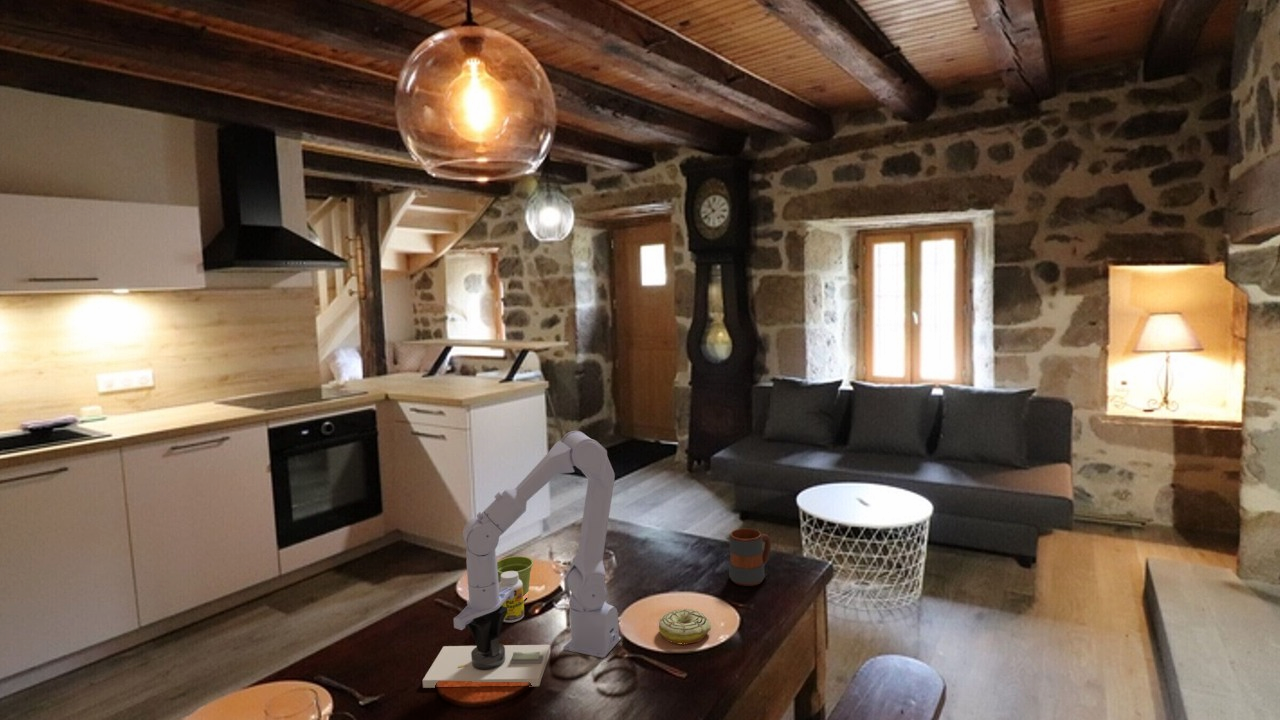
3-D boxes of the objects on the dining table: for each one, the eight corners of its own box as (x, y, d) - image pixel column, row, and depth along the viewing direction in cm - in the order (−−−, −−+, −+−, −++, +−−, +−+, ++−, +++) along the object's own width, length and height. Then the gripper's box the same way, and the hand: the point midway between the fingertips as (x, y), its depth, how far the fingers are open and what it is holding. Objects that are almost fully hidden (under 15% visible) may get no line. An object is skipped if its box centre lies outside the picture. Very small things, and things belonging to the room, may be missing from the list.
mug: (782, 577, 169) (781, 531, 168) (744, 590, 163) (743, 543, 162) (759, 565, 177) (758, 522, 175) (722, 577, 171) (720, 532, 169)
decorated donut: (720, 633, 144) (720, 616, 144) (684, 653, 137) (684, 635, 137) (685, 616, 152) (684, 600, 152) (649, 634, 145) (649, 617, 145)
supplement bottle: (505, 626, 151) (502, 581, 150) (495, 616, 155) (492, 573, 154) (528, 618, 154) (525, 575, 153) (518, 609, 158) (515, 567, 157)
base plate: (550, 651, 140) (549, 635, 139) (539, 686, 128) (538, 668, 127) (444, 653, 141) (442, 637, 140) (423, 687, 129) (421, 670, 128)
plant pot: (527, 608, 159) (525, 572, 158) (489, 607, 160) (486, 571, 159) (540, 590, 168) (538, 556, 167) (503, 589, 169) (501, 555, 168)
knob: (511, 659, 134) (510, 632, 133) (483, 673, 129) (481, 645, 129) (493, 648, 138) (491, 621, 138) (465, 661, 134) (463, 634, 133)
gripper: (493, 563, 140) (498, 626, 142) (439, 592, 128) (445, 660, 130) (520, 569, 137) (524, 634, 138) (467, 599, 124) (472, 670, 126)
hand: (487, 647), depth 134 cm, fingers closed on knob, 2 cm apart
